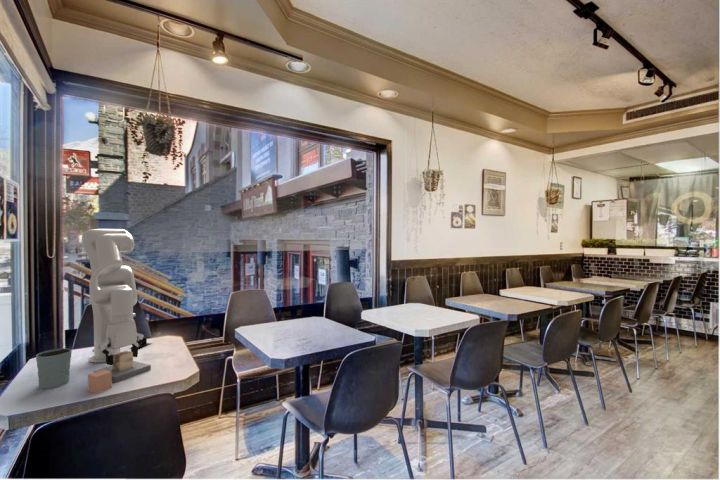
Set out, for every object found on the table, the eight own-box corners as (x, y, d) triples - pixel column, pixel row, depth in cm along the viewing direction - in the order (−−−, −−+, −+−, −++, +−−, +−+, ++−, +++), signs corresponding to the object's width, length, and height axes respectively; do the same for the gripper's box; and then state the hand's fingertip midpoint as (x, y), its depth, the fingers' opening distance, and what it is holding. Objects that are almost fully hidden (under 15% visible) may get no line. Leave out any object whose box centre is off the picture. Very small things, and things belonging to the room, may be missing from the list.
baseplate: (93, 376, 140) (93, 371, 140) (129, 364, 152) (129, 360, 152) (115, 382, 134) (115, 377, 134) (150, 369, 147) (150, 364, 147)
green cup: (30, 391, 127) (29, 357, 127) (46, 380, 136) (45, 349, 136) (63, 387, 130) (63, 355, 129) (77, 377, 139) (76, 346, 139)
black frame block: (138, 351, 171) (137, 342, 171) (124, 351, 172) (124, 341, 172) (156, 343, 184) (156, 334, 184) (143, 343, 185) (143, 334, 185)
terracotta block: (88, 391, 127) (88, 374, 127) (103, 385, 131) (102, 369, 131) (96, 393, 125) (96, 376, 125) (111, 387, 129) (111, 371, 129)
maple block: (112, 369, 142) (112, 354, 142) (125, 365, 146) (125, 350, 146) (120, 371, 140) (120, 356, 140) (133, 366, 144) (132, 352, 144)
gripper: (137, 313, 152) (137, 352, 153) (92, 322, 137) (93, 366, 137) (148, 314, 149) (149, 355, 150) (104, 324, 133) (105, 369, 134)
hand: (122, 360), depth 143 cm, fingers open, 9 cm apart
